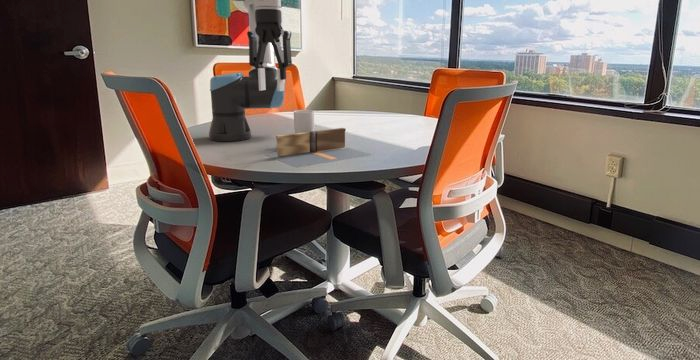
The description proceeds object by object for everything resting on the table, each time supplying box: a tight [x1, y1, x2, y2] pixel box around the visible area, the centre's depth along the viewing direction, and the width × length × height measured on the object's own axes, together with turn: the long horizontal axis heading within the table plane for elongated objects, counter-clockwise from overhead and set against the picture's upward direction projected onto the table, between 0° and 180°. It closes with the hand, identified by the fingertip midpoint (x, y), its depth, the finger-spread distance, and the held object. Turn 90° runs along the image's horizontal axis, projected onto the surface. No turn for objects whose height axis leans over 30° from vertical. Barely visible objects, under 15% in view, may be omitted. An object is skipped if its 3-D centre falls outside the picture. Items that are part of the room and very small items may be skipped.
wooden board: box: [275, 132, 310, 156], centre depth 141 cm, size 11×2×6 cm, turn 126°
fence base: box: [309, 127, 346, 153], centre depth 148 cm, size 2×13×6 cm, turn 126°
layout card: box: [262, 146, 373, 168], centre depth 143 cm, size 21×27×1 cm
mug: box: [293, 109, 315, 133], centre depth 156 cm, size 10×7×12 cm, turn 13°
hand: (271, 90), depth 139 cm, fingers open, 6 cm apart
